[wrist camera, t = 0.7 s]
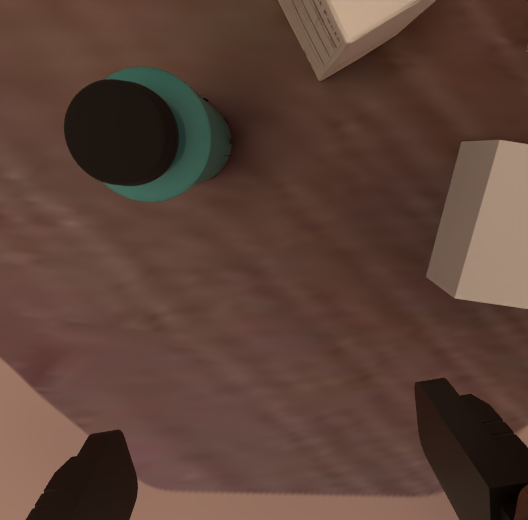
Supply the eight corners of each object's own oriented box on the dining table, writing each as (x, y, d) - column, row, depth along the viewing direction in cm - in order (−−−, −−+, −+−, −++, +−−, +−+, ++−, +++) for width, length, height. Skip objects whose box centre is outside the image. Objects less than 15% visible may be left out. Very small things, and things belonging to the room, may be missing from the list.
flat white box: (459, 141, 35) (499, 139, 29) (594, 163, 36) (659, 166, 30) (424, 275, 38) (454, 298, 32) (549, 294, 39) (600, 319, 33)
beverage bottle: (250, 150, 35) (240, 148, 16) (189, 198, 36) (107, 253, 16) (201, 83, 34) (122, -9, 14) (138, 135, 34) (-15, 114, 15)
